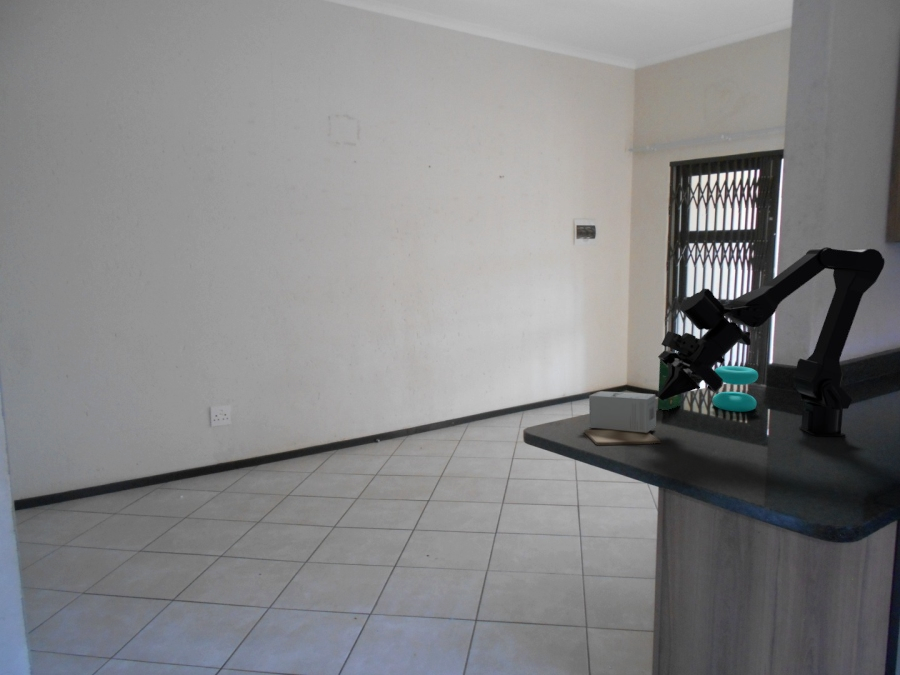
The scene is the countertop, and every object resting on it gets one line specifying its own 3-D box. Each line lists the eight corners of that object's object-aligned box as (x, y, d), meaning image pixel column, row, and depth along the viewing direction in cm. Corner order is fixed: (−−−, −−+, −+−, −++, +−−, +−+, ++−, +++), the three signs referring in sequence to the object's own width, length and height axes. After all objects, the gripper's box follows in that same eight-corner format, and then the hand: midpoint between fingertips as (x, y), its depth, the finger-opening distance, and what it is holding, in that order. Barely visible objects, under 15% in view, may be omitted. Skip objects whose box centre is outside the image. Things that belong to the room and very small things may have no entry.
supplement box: (647, 398, 126) (588, 395, 133) (647, 433, 126) (589, 428, 133) (656, 393, 132) (599, 390, 139) (656, 426, 132) (600, 422, 139)
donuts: (720, 371, 146) (709, 364, 156) (718, 412, 147) (707, 402, 157) (765, 372, 145) (750, 365, 154) (762, 413, 146) (748, 403, 156)
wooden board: (643, 431, 131) (643, 428, 131) (660, 443, 123) (660, 440, 122) (584, 432, 131) (584, 430, 131) (597, 445, 122) (597, 442, 122)
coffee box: (670, 404, 156) (672, 353, 154) (681, 405, 154) (683, 354, 152) (656, 409, 150) (658, 357, 148) (667, 411, 148) (670, 358, 146)
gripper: (669, 314, 134) (618, 364, 134) (710, 322, 115) (651, 381, 116) (702, 348, 135) (651, 398, 136) (748, 363, 117) (689, 420, 117)
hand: (659, 398), depth 126 cm, fingers closed
